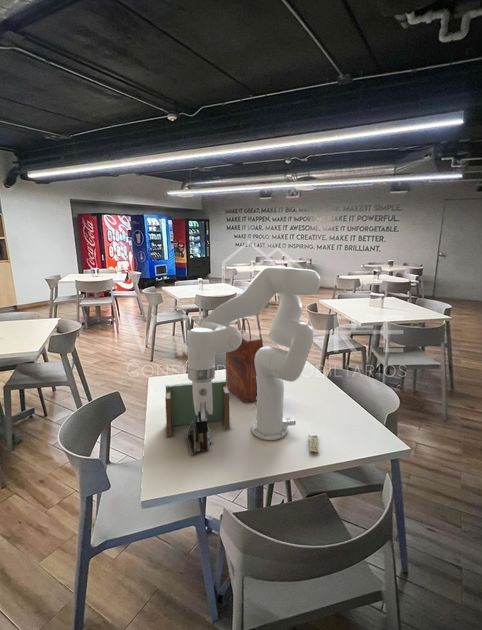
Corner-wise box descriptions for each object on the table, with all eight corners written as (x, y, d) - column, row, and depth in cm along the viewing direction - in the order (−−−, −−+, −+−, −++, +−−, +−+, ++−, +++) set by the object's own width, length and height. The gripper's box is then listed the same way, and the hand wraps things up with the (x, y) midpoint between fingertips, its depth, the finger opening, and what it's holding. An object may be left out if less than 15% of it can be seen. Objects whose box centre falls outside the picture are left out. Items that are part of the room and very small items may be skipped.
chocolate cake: (214, 455, 108) (215, 417, 114) (193, 453, 105) (195, 415, 111) (204, 461, 114) (206, 425, 121) (184, 460, 112) (187, 424, 118)
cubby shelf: (226, 417, 130) (225, 380, 127) (229, 429, 122) (229, 389, 119) (167, 424, 125) (165, 385, 122) (167, 437, 116) (165, 395, 113)
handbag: (245, 404, 141) (246, 323, 134) (225, 387, 158) (225, 315, 150) (266, 398, 147) (268, 321, 140) (245, 383, 163) (245, 312, 156)
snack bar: (319, 452, 108) (310, 449, 108) (317, 456, 108) (308, 452, 108) (317, 435, 117) (309, 432, 117) (315, 439, 118) (308, 435, 118)
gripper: (218, 381, 88) (217, 444, 91) (211, 362, 102) (211, 418, 105) (189, 383, 86) (189, 448, 89) (186, 364, 100) (187, 420, 103)
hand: (201, 431), depth 97 cm, fingers closed
